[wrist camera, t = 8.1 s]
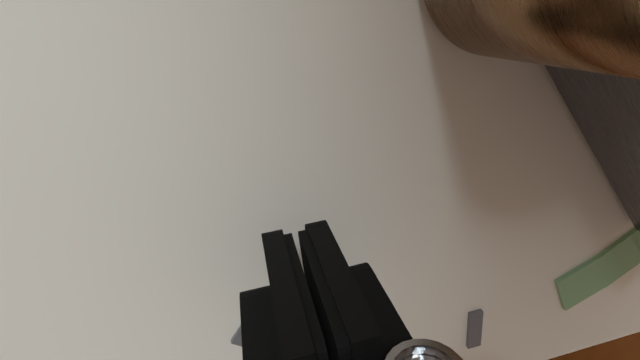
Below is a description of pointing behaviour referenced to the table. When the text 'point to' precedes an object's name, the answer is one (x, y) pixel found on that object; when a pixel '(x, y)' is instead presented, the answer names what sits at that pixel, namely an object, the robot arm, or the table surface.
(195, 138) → the dial board
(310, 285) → the robot arm
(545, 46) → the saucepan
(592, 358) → the table surface
